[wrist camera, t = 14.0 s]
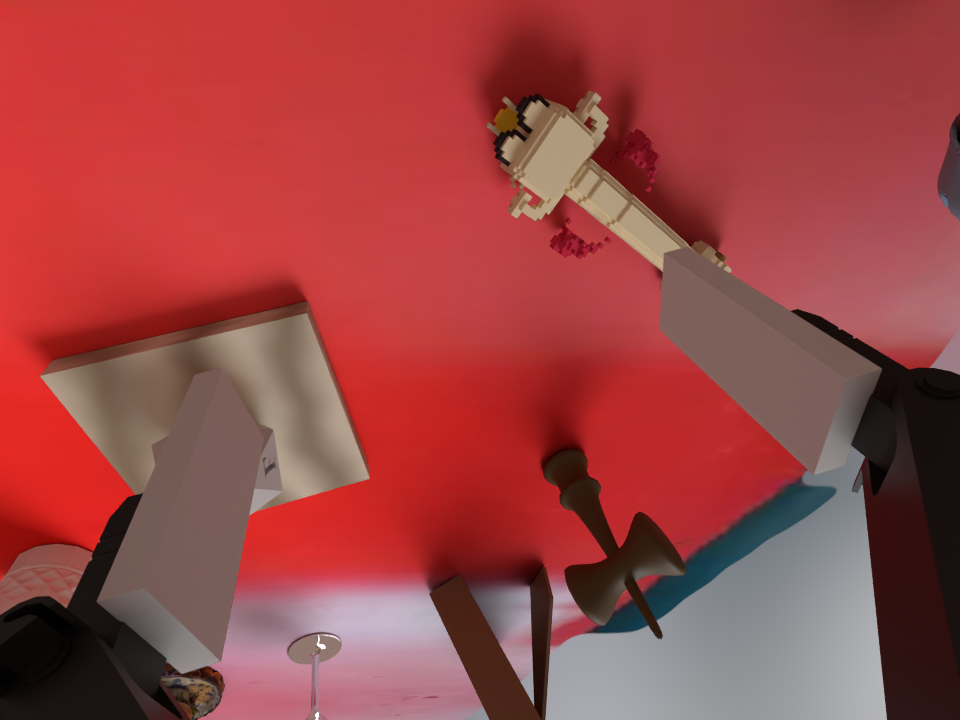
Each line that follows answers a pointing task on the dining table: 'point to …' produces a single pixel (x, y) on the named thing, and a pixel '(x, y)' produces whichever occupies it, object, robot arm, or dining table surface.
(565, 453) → the kendama
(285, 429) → the birch board
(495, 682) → the photo frame
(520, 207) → the cat figure
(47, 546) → the white cup
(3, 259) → the dining table surface
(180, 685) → the burger
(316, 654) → the wineglass
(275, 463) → the die
